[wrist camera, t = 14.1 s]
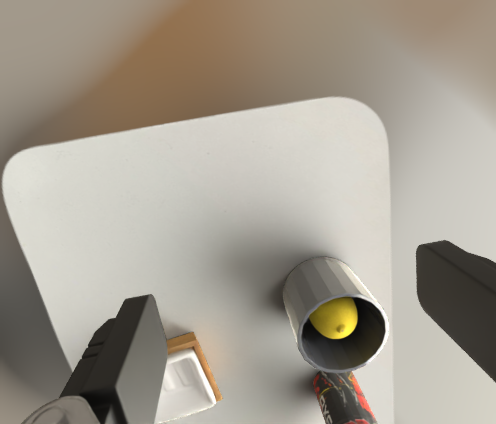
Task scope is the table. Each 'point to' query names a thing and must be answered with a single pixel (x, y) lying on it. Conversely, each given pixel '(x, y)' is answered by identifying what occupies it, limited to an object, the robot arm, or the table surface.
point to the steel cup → (321, 291)
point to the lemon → (335, 317)
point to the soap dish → (185, 381)
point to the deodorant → (342, 399)
